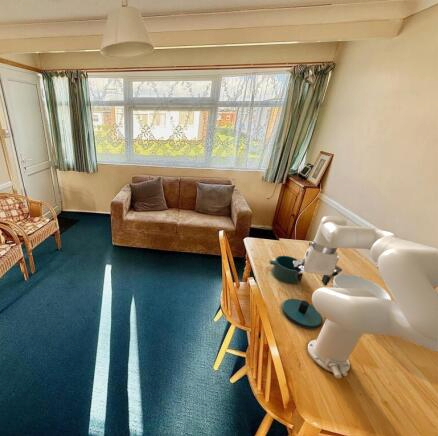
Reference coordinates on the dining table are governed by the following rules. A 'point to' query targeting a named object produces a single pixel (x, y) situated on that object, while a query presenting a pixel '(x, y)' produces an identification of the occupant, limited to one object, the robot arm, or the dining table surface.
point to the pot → (285, 269)
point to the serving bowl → (359, 285)
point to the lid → (302, 312)
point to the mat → (299, 323)
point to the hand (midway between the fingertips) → (310, 281)
